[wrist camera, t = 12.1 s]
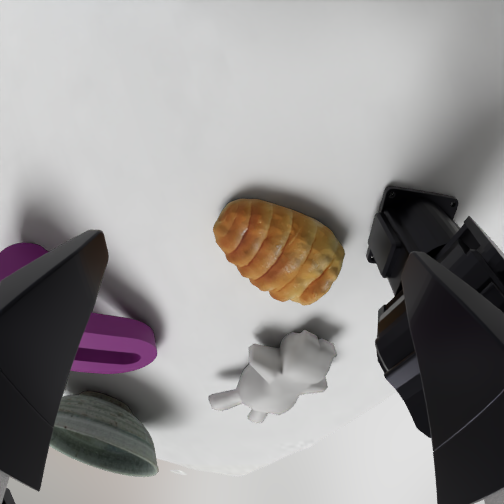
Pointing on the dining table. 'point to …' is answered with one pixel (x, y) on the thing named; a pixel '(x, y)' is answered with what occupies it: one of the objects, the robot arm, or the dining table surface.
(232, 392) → the bunny figurine
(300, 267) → the pastry
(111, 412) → the bowl
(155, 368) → the dining table surface
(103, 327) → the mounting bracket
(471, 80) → the dining table surface
